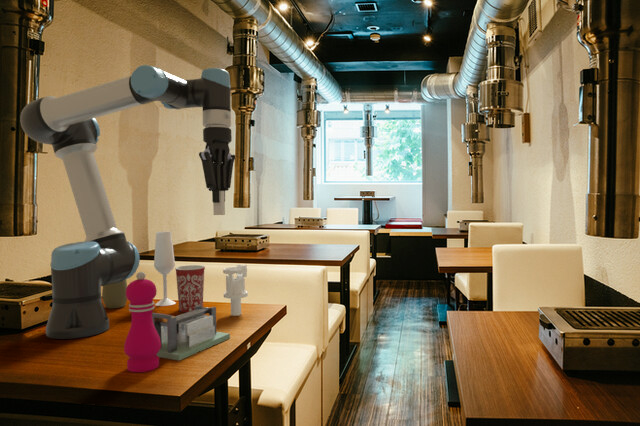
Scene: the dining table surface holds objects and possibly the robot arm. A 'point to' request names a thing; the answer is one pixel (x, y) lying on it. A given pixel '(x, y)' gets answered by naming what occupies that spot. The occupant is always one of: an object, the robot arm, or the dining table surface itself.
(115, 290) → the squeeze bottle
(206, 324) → the grey blocky device
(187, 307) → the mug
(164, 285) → the champagne flute
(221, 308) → the dining table surface
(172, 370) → the dining table surface
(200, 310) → the grey bar
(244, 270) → the white plastic part
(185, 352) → the mainboard
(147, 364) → the pepper mill
